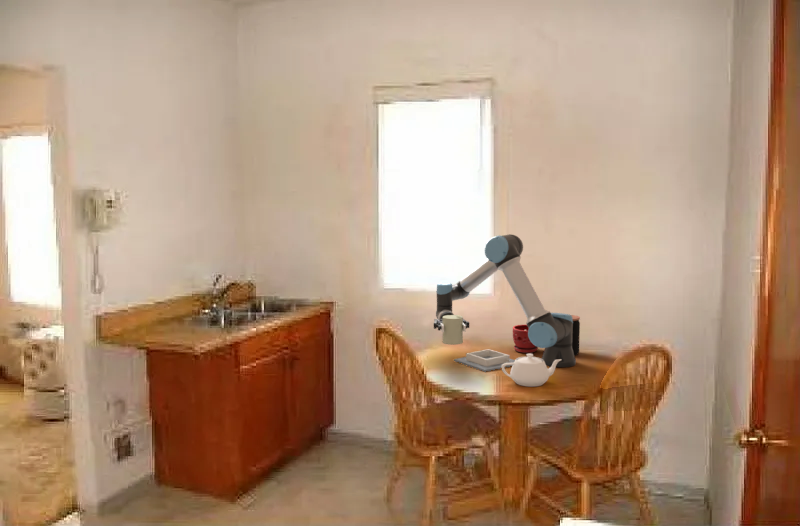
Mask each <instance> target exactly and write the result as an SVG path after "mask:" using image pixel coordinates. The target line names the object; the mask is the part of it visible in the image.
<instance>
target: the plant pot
mask: <svg viewBox="0 0 800 526" xmlns="http://www.w3.org/2000/svg"><path fill="white" fill-rule="evenodd" d="M528 330H529V328H528V326H527V324H517V325H514V326H513V327H512V339H513V343H514V346H513V349H514V350H515V351H516V352H519V353H523V354H533V353H535V352H537V351H538V349H539V347H537V346H535V345H534V344H532V343H531V341H530V340H529V337H528Z"/></svg>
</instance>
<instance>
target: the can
mask: <svg viewBox="0 0 800 526" xmlns="http://www.w3.org/2000/svg"><path fill="white" fill-rule="evenodd" d="M442 318H443V325H444V332H442V341H441V343H443V344H444V345H449V346H450V345H454V346H456V345H462V344H463V343H464V339H463V338H464V337H463V334H464V333H463V332H464V331H463V319H464V317H463V315H457V314H454V315H446V316H443V317H442Z"/></svg>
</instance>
